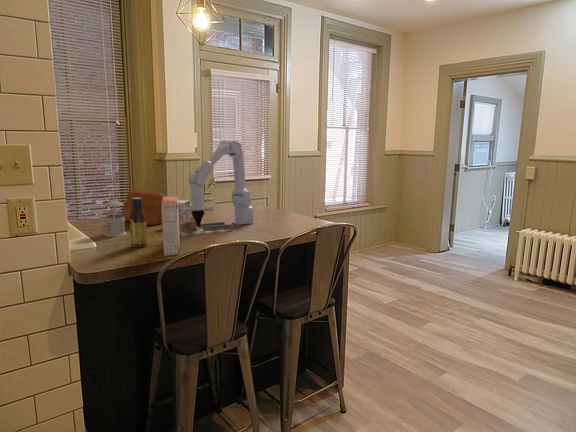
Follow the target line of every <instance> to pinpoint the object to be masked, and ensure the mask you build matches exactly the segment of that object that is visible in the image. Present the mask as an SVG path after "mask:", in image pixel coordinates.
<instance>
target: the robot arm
mask: <svg viewBox="0 0 576 432" xmlns="http://www.w3.org/2000/svg"><path fill="white" fill-rule="evenodd" d="M242 147H243V146H242V143H241V142H240V141H238V140H226V139H224V140H220V142H219V144H217V147H216V149H215V151H214V152H213V153H212V154H211V156H210V157H209V158H208V160H203V161H202V162H200V166H198V168H197V169H195V170H194V172H191V173H190V174H189V176H188V178H187V181H188V183H189V187H190V194H191V195H190V199H191V200H190V203H191V207H187V208H182V212H183V213H185V212H191V213H192V215H193V217H194V220H195V222H196V224H197V227H200V224H202V223H201V222H202V219H203V217H204V215H205V212H213V211H214V206H210V205H208V206H207V205H206V206H205V203H204V202H205V198H204V193H205V192H204V184H206V181H207V178H208V176H209V175H210V174H211V173H212V171H213V170H214V168H215V166H214V165H215V164H216V163H217V162H219V160H221V159H222V157H223V156H226V155H227V156H229V157H231V158H232V167H233V176H234V177H233V178H234V189H233V190H232V191H231V193H232V196H231V199H230V201H231V203H232V205H233V207H234V220H233V221H231V223H233V224H235V225H237V226H238V225H250V224H251V225H252V224H255V222H254V208H253V207H252V206H251V204H252V196H251V192H250V191H249V190H248V189H247V187H246V177H245V176H246V175H245V174H246V173H245V159H244V158H245V157H244V152H243V150H242V149H243V148H242Z"/></svg>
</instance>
